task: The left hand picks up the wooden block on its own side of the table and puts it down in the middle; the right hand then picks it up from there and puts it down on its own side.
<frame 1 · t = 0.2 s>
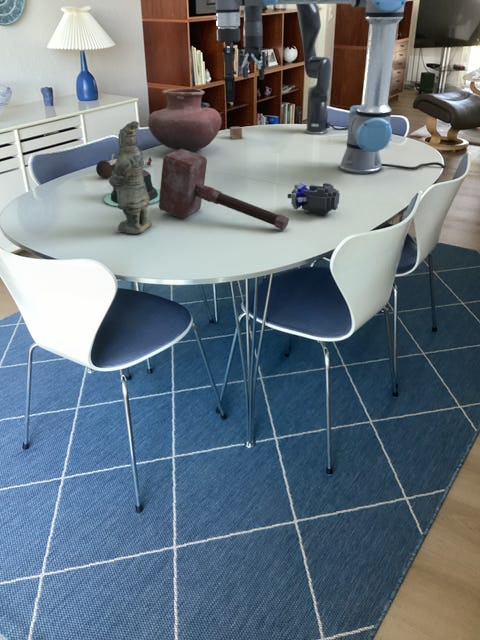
left hand: (253, 78, 227), 29 cm above the table, tool pointing down, fingers open, 8 cm apart
right hand: (230, 98, 188), 28 cm above the table, tool pointing down, fingers open, 13 cm apart
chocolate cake: (134, 197, 187), on the table
toy: (312, 213, 171), on the table
block: (236, 137, 262), on the table
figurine: (124, 172, 215), on the table
clay pot: (187, 151, 241), on the table
sledgehammer: (224, 220, 166), on the table
camera: (371, 144, 245), on the table
statue: (134, 229, 162), on the table
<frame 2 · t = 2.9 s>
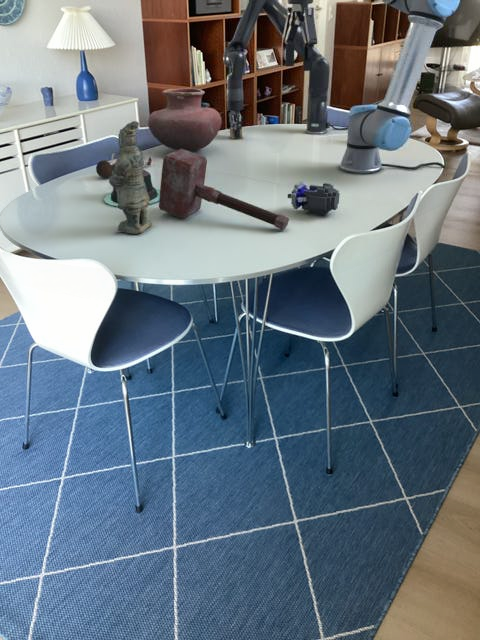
left hand: (235, 136, 262), 1 cm above the table, tool pointing down, fingers closed on block, 4 cm apart
right hand: (298, 68, 171), 38 cm above the table, tool pointing down, fingers open, 13 cm apart
block: (236, 137, 262), on the table, touching left hand
everything else where it was.
when the left hand's fingers open (1 cm above the table, at t = 6.4 s): block moves 3 cm, point 3 cm above the table.
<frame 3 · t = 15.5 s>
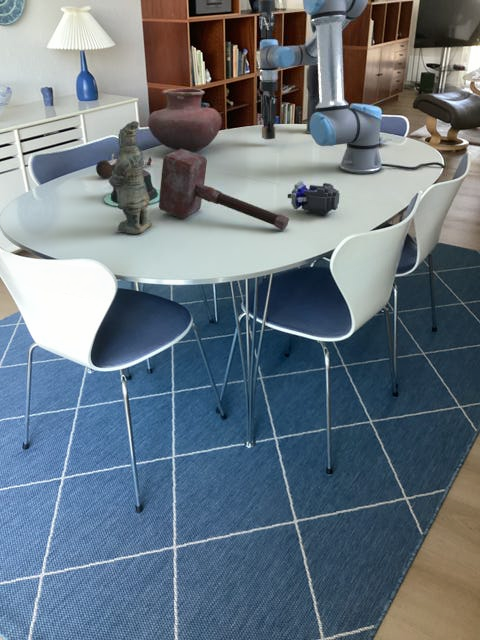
left hand: (266, 38, 270), 40 cm above the table, tool pointing down, fingers open, 8 cm apart
right hand: (268, 137, 245), 4 cm above the table, tool pointing down, fingers closed on block, 4 cm apart
block: (268, 138, 246), point 3 cm above the table, touching right hand
everything else where it was.
when the right hand's fingers open (1 cm above the table, at t = 20.9 s): block stays where it is, on the table.
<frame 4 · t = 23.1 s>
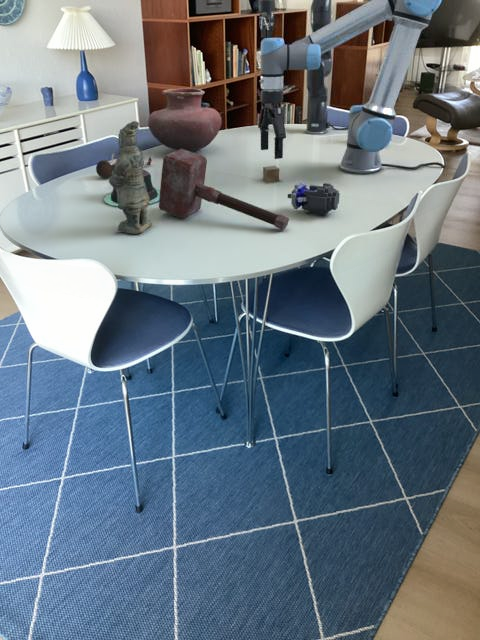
left hand: (266, 38, 270), 40 cm above the table, tool pointing down, fingers open, 8 cm apart
right hand: (271, 154, 196), 9 cm above the table, tool pointing down, fingers open, 13 cm apart
block: (271, 180, 201), on the table
everything else where it was.
at the end: block inside the target area (0.0 cm from its centre), on the table; block tilted 0°; the two hands never held the block at the same time; the left hand is holding nothing; the right hand is holding nothing; block at rest at the end (0.0 cm/s) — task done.
